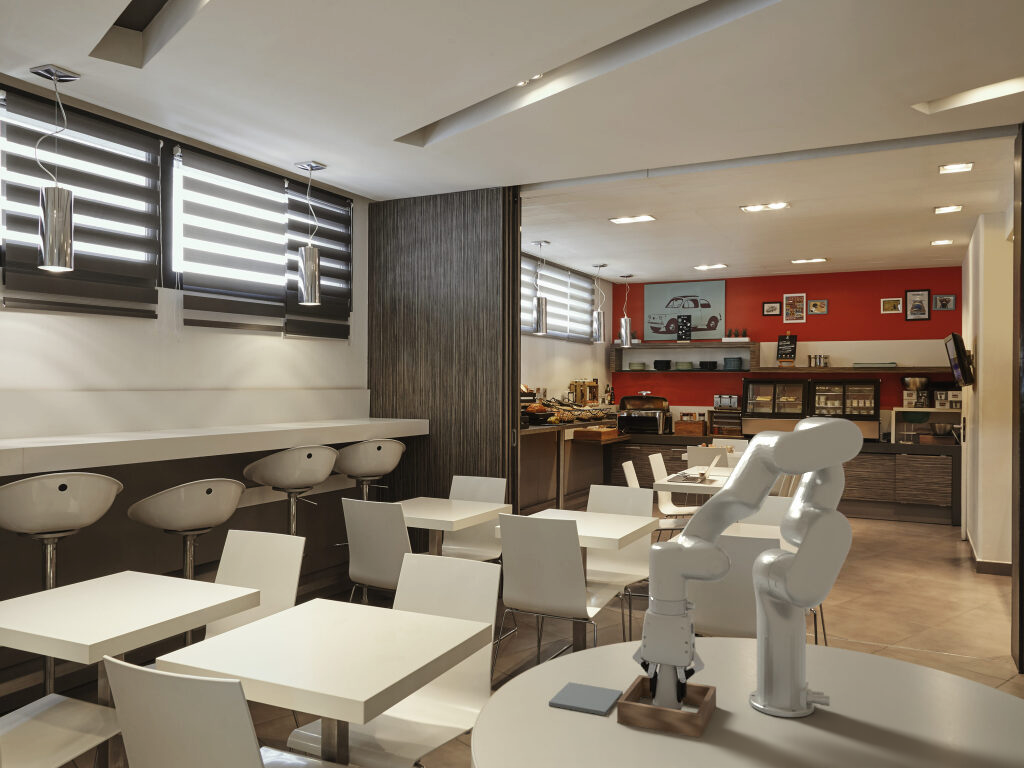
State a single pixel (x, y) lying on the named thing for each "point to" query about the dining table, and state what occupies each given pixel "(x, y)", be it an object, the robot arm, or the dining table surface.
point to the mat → (586, 698)
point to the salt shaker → (667, 688)
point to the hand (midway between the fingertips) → (667, 697)
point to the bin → (667, 709)
